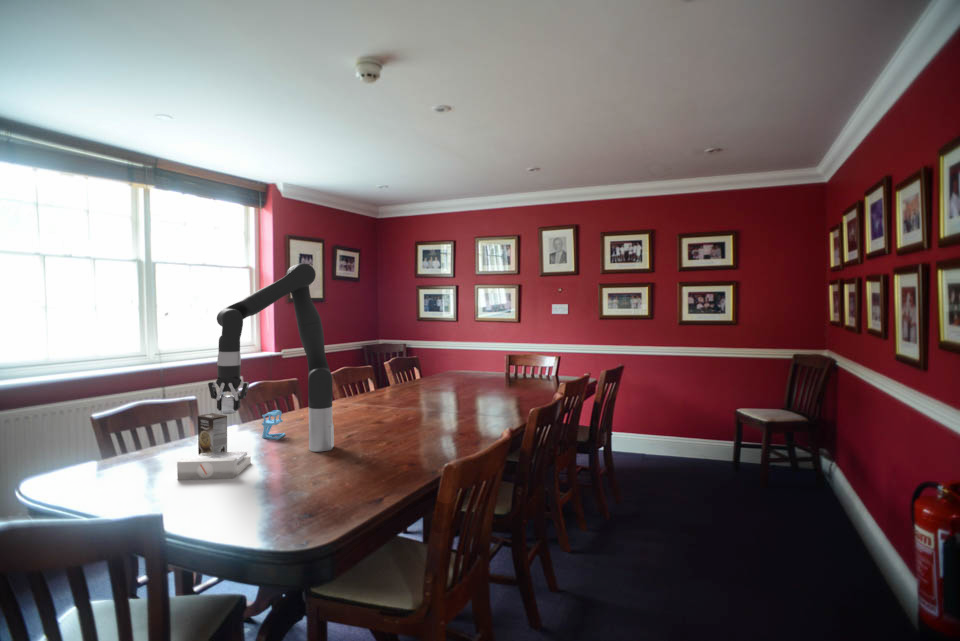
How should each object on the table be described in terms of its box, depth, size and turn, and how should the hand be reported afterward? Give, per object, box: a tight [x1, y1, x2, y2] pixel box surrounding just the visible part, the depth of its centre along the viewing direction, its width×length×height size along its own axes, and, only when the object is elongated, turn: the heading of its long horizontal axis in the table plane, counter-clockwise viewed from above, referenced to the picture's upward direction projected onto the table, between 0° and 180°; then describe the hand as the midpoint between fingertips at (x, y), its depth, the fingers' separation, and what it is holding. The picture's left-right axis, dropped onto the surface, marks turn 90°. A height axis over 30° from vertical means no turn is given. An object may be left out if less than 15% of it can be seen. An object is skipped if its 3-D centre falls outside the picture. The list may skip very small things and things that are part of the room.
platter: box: [192, 451, 248, 463], centre depth 177 cm, size 16×11×1 cm
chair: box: [261, 409, 286, 441], centre depth 220 cm, size 8×8×12 cm
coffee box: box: [197, 412, 228, 455], centre depth 191 cm, size 9×6×16 cm
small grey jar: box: [220, 394, 237, 415], centre depth 181 cm, size 5×5×6 cm
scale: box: [176, 455, 252, 481], centre depth 175 cm, size 18×16×6 cm
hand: (228, 410), depth 181 cm, fingers closed on small grey jar, 5 cm apart
